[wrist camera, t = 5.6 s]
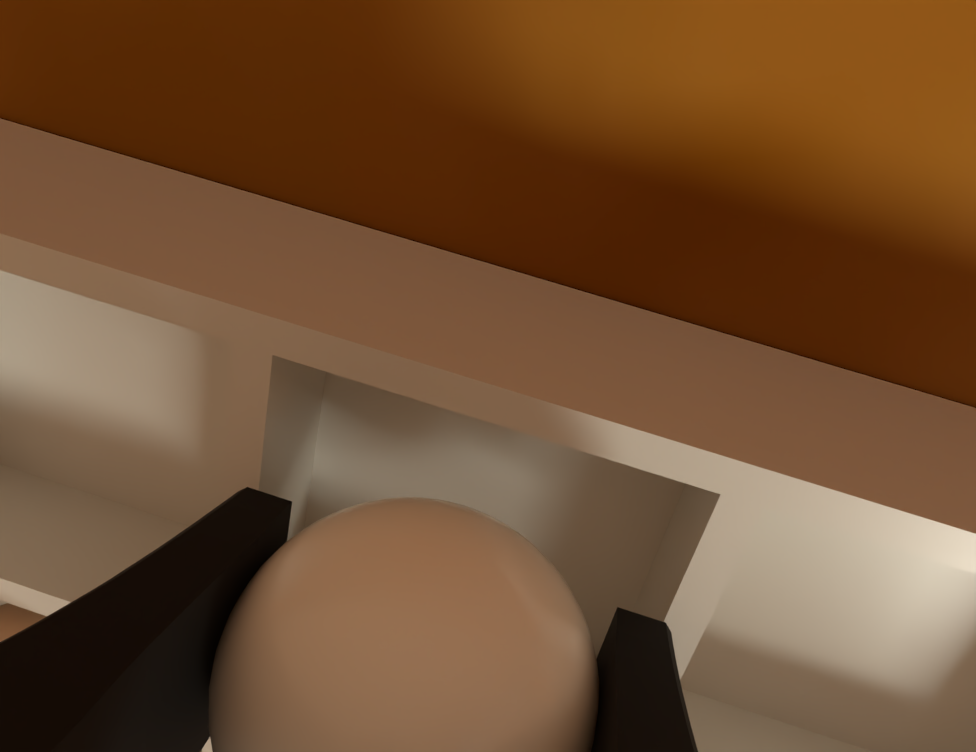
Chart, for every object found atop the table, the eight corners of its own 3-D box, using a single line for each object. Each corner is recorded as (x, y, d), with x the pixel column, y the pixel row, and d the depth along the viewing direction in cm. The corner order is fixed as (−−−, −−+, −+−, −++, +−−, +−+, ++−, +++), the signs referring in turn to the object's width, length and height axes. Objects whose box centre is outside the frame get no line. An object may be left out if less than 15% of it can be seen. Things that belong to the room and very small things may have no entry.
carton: (1210, 477, 12) (1477, 835, 8) (833, 947, 19) (863, 1286, 14) (-47, 104, 14) (-412, 230, 9) (7, 659, 20) (-195, 886, 16)
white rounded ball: (664, 492, 11) (633, 813, 8) (566, 719, 14) (505, 1050, 10) (323, 381, 12) (132, 638, 8) (284, 622, 14) (122, 908, 10)
